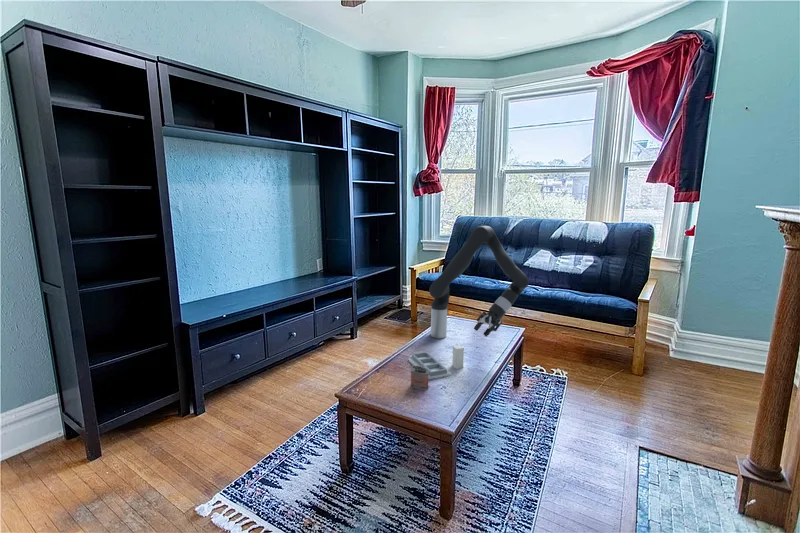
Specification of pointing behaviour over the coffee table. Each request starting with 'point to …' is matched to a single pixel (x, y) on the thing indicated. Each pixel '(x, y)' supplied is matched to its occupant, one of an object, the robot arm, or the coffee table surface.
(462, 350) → the clay bar
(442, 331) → the robot arm
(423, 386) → the lighter
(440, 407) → the coffee table surface
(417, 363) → the rack
